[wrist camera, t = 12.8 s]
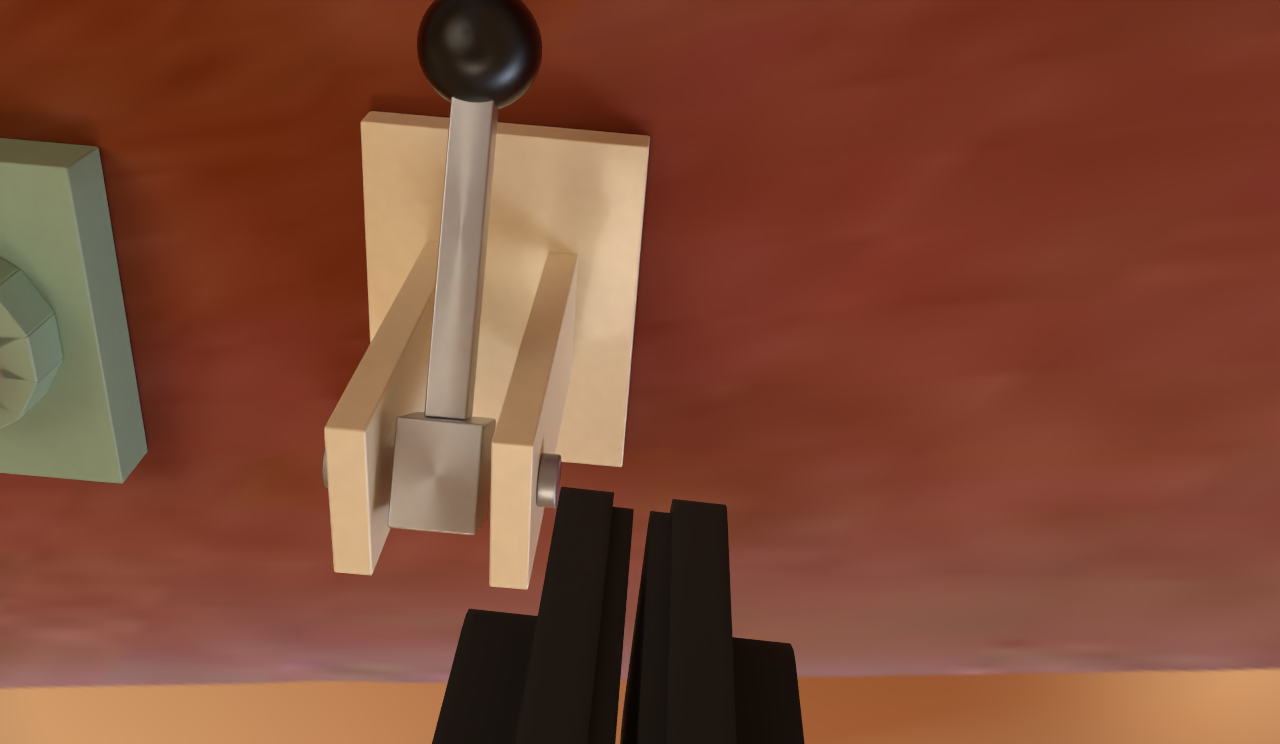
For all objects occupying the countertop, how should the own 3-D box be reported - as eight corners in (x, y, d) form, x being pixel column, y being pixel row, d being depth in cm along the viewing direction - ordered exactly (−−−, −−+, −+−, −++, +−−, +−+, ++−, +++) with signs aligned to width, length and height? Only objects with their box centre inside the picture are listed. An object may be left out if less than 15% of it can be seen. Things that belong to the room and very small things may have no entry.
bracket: (369, 110, 36) (222, 273, 25) (650, 135, 36) (629, 309, 25) (382, 428, 42) (268, 675, 31) (623, 449, 42) (597, 705, 31)
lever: (435, -1, 31) (410, -42, 28) (552, 9, 31) (541, -30, 28) (391, 510, 31) (363, 528, 28) (507, 520, 31) (491, 540, 28)
